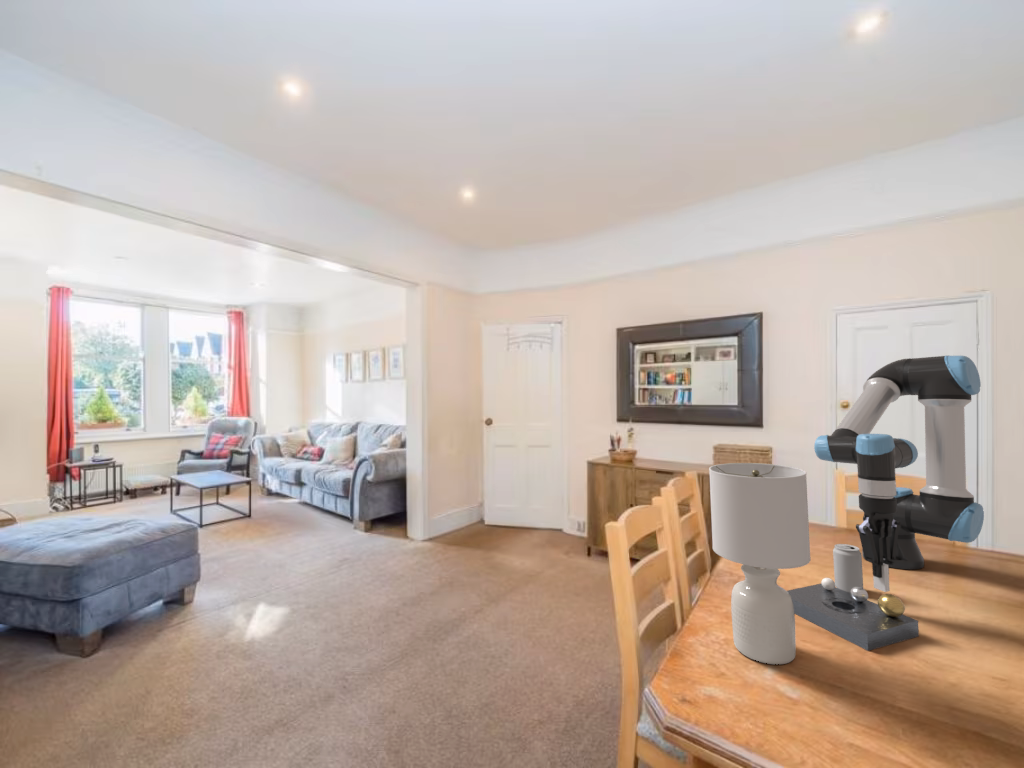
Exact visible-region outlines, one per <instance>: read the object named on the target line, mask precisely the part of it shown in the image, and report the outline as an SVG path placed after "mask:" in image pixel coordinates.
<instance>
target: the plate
mask: <svg viewBox="0 0 1024 768" xmlns="http://www.w3.org/2000/svg"><path fill="white" fill-rule="evenodd" d="M786 591H787V592H788V593H789V594H790V596H791V598H792V601H793V606H794V614H795V615H797V616H798V617H801V618H802V619H805V620H806V621H808V622H810V623H812V624H814V625H816V626H818V627H820V628H822V629H824V630H826V631H828V632H830V633H832V634H834V635H836V636H838V637H840V638H842V639H844V640H846V641H847V642H850V643H851V644H854V645H855V646H858V647H859V648H862V649H864V650H866V651H868V652H870V651H871V650H876V649H880V648H883V647H887V646H889V645H894V644H896V643H900V642H903V641H904V642H905V641H907V640H910V639H915V638H917V637H918V638H919V636H920V635H919V634H920V631H919V620H917V619H915V618H913V617H911V616H908V615H906V614H904V613H903V614H902V615H901V616H899V617H891V616H888V615H886V614H884V613H883V612H882V611H881V610H880V608H879V606H878V603H875V602H873V601H871V600H868V599H867V601H865V602H857V601H856V600H854V599H853V598H852V596H851V594H850V593H849V592H846V591H844V590H841V589H839V588H837V587H836V586H835V588H834V589H833V590H827V589H825V588H824V587H823V586H822V584H821V583H816V584H812V585H808V586H801V587H798V588H794V589H788V590H786Z"/></svg>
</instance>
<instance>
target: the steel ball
mask: <svg viewBox="0 0 1024 768" xmlns="http://www.w3.org/2000/svg"><path fill="white" fill-rule="evenodd" d="M850 594H851V596H852V598H853V599H854V600H856V601H857V602H865V601H867V600H868V599H869V594H868V592H867V590H866V589H864V587H863V588H861V587H853V588H852V589H851V591H850Z"/></svg>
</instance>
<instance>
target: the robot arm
mask: <svg viewBox="0 0 1024 768" xmlns="http://www.w3.org/2000/svg"><path fill="white" fill-rule="evenodd" d="M981 383H982V382H981V377H980V374H979V370H978V368H977V366H976V364H975V363H974V361H973V360H972V359H971V358H970V357H969V356H966V355H941V356H939V355H938V356H928V357H927V356H925V357H915V358H914V357H913V358H912V357H911V358H903V359H898V360H895V361H892V362H889V363H888V364H886V365H884V366H882V367H881V368H879V369H877V370H876V371H875V372H873V373H872V374H871V375H870V376H869V377H868V378H867V379H866V381H865V382H864V384H863V386H862V390H863V391H862V393H860V395H859V396H858V398H857V400H855V402H854V403H853V404H852V407H851V408H849V411H847V413H846V414H845V416H844V417H843V419H842V420H841V422H840V423H839V425H838V426H837V427H836V428H835V430H834V431H833V432H832V433H831V435H829V434H826V435H819V436H817V438H816V439H815V440H814V446H813V447H814V448H813V449H814V452H815V455H816V457H817V458H818V459H819V460H821V461H827V462H832V463H839V464H841V463H842V464H854V465H856V467H857V480H858V481H857V483H858V493H860V494H858V508H859V509H860V510H861V511H862V512H863V516H862V521H863V522H861V524H859V523H856V525H855V528H856V530H857V532H858V534H859V539H860V543H861V544H860V545H861V555H862V557H863V558H862V559H864V560H865V561H866V562H869V563H871V565H872V566H871V567H872V576H873V578H872V580H873V589H877V590H879V591H881V592H884V593H886V592H890V589H891V588H890V568H893V569H899V570H919V569H923V568H924V567H925V559H924V556H923V554H922V552H921V550H920V547H919V545H918V543H917V540H916V534H919V535H923V536H927V537H928V536H929V537H933V538H939V539H944V540H948V541H951V542H959V543H967V544H969V543H972V542H975V540H977V538H978V537H979V535H980V533H981V530H982V528H983V524H984V520H985V519H984V518H985V511H984V508H983V505H982V504H980V503H978V502H976V501H975V496H974V494H972V493H971V492H970V491H968V489H967V478H966V477H967V474H966V471H967V470H966V467H967V466H966V465H967V464H966V430H965V427H966V422H965V421H966V419H965V407H966V406H967V405H968V404H970V403H971V402H972V396H975V395H978V394H979V393H980V391H981V387H982V386H981ZM902 396H903V397H904V396H917V401H918V402H919V403H920V404H921V405H923V406H924V431H925V432H924V434H925V435H924V436H925V438H924V440H925V441H924V442H925V443H924V444H925V482H926V483H925V485H924V486H923V487H922V488H920V489H919V494H914V491H913V489H912V488H910V487H909V488H908V487H902V486H901V487H899V486H898V487H897V480H896V469H899V468H900V469H903V468H906V467H908V466H910V465H912V464H914V463H915V462H916V461H917V458H918V457H919V456H918V455H919V453H918V451H919V450H918V449H917V447H916V445H915V444H914V443H913V442H911V441H910V440H909V439H906V438H905V439H904V438H895V437H893V436H892V435H890V434H885V433H871V432H872V431H873V429H875V426H876V425H877V423H878V422H879V420H880V419H881V418H882V416H883V414H884V413H885V412H886V410H887V409H888V407H889V406H890V404H891V403H894V402H896V401H897V400H898V399H899V398H900V397H902Z"/></svg>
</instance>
